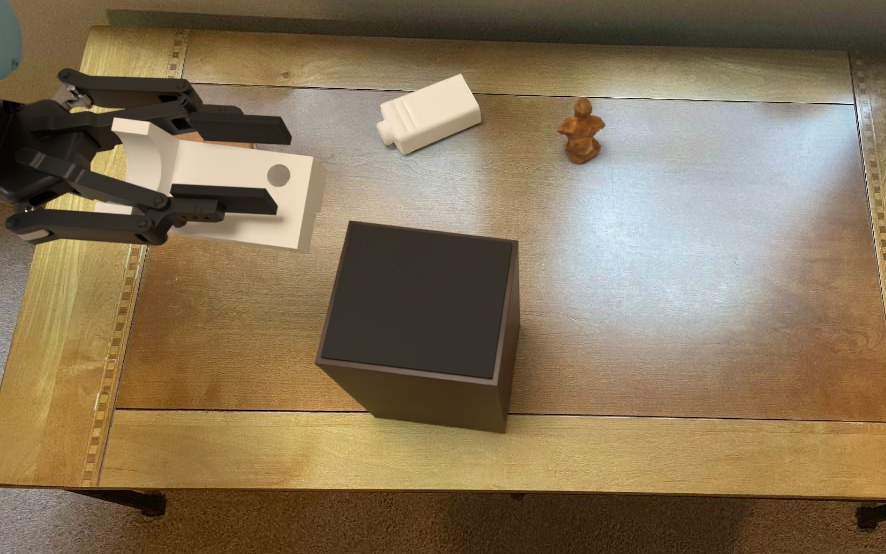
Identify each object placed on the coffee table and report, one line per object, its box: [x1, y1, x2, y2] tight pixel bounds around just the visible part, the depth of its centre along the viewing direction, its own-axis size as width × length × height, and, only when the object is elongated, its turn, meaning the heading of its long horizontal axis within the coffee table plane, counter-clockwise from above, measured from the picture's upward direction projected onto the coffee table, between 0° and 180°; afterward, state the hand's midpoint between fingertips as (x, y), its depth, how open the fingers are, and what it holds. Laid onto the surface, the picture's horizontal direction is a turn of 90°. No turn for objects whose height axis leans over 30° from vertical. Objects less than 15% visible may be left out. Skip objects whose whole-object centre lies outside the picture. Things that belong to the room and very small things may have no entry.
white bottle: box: [376, 73, 482, 155], centre depth 93 cm, size 6×13×4 cm, turn 117°
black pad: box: [321, 224, 512, 379], centre depth 60 cm, size 12×14×1 cm
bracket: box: [93, 118, 329, 255], centre depth 54 cm, size 13×7×8 cm, turn 82°
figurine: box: [556, 96, 606, 165], centre depth 89 cm, size 5×6×12 cm
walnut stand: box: [314, 219, 521, 435], centre depth 72 cm, size 13×15×25 cm
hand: (277, 165), depth 52 cm, fingers open, 5 cm apart
